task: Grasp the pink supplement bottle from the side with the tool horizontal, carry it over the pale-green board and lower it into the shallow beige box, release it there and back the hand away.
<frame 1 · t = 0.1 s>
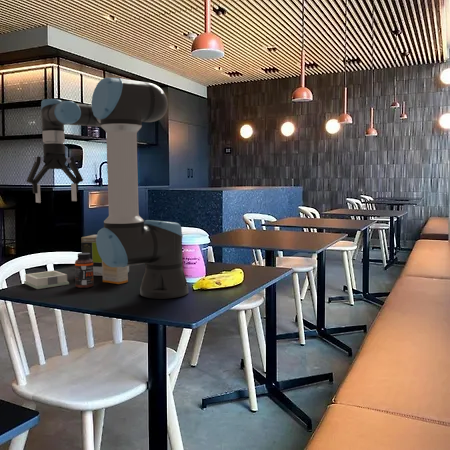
hand: (56, 201, 182), 28 cm above the table, tool pointing down, fingers open, 13 cm apart
shallow beige box: (46, 283, 172), on the table
tea box: (106, 274, 189), on the table
supplement bottle: (84, 287, 168), on the table
supplement box: (115, 282, 174), on the table
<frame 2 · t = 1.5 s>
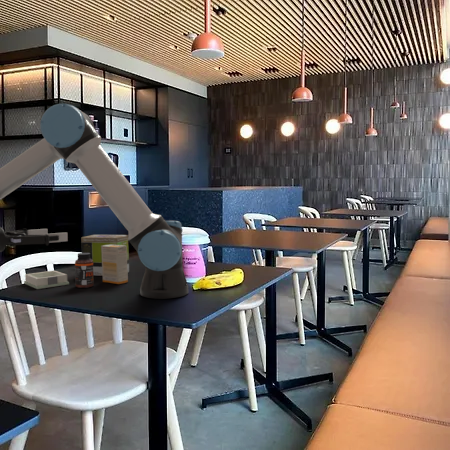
hand: (56, 234, 160), 18 cm above the table, tool horizontal, fingers open, 13 cm apart
nothing on the table moved.
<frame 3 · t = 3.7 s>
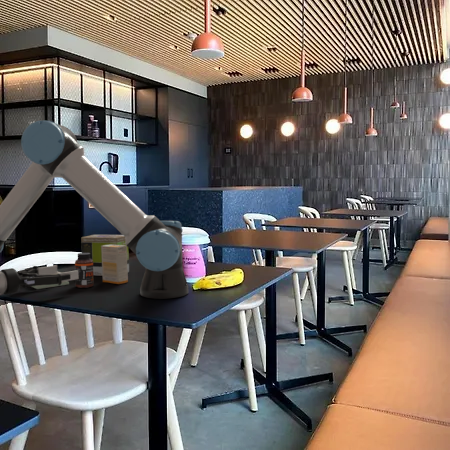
hand: (67, 271, 163), 6 cm above the table, tool horizontal, fingers open, 13 cm apart
nothing on the table moved.
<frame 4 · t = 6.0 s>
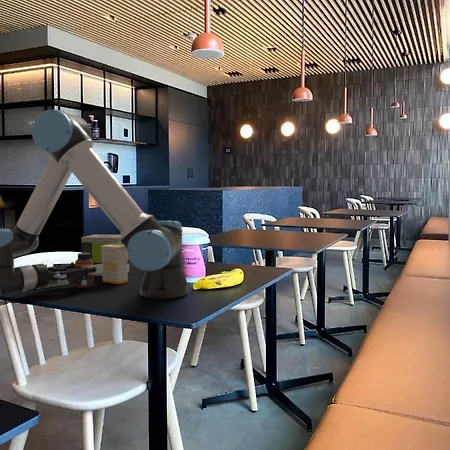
hand: (97, 266, 171), 6 cm above the table, tool horizontal, fingers closed on supplement bottle, 6 cm apart
supplement bottle: (84, 286, 168), on the table, touching gripper
everything else where it was.
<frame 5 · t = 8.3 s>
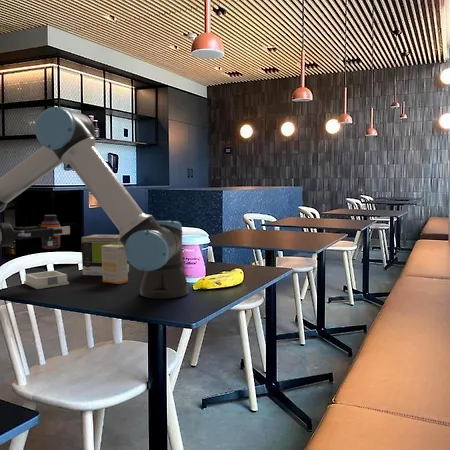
hand: (64, 229, 173), 19 cm above the table, tool horizontal, fingers closed on supplement bottle, 6 cm apart
supplement bottle: (51, 248, 170), point 13 cm above the table, touching gripper
everything else where it was.
when the fingers open (8 cm above the table, at t = 10.8 s): supplement bottle drops 1 cm, resting on shallow beige box.
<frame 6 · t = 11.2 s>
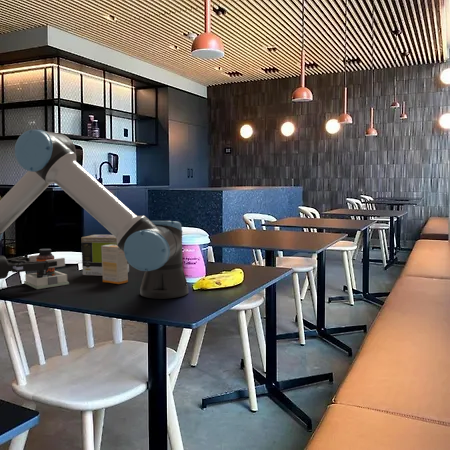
hand: (55, 259, 174), 8 cm above the table, tool horizontal, fingers open, 12 cm apart
supplement bottle: (46, 282, 172), point 1 cm above the table, touching shallow beige box
everything else where it was.
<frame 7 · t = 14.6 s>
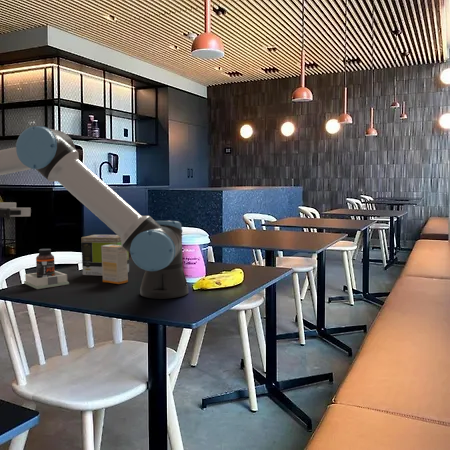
hand: (23, 209, 164), 26 cm above the table, tool horizontal, fingers open, 13 cm apart
nothing on the table moved.
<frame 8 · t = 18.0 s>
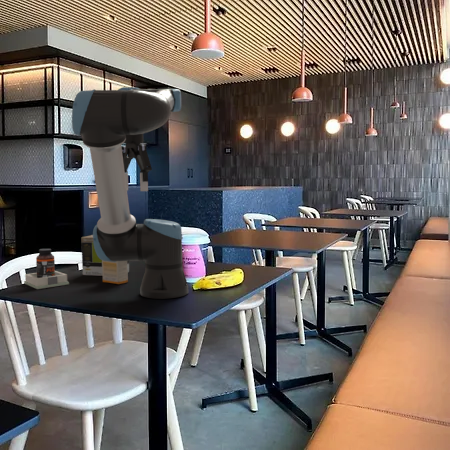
hand: (134, 190, 181), 32 cm above the table, tool pointing down, fingers open, 13 cm apart
nothing on the table moved.
at the end: supplement bottle 0.0 cm off-centre on the shallow beige box, point 0.6 cm above the shallow beige box's base; supplement bottle tilted 0°; the gripper is holding nothing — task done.
